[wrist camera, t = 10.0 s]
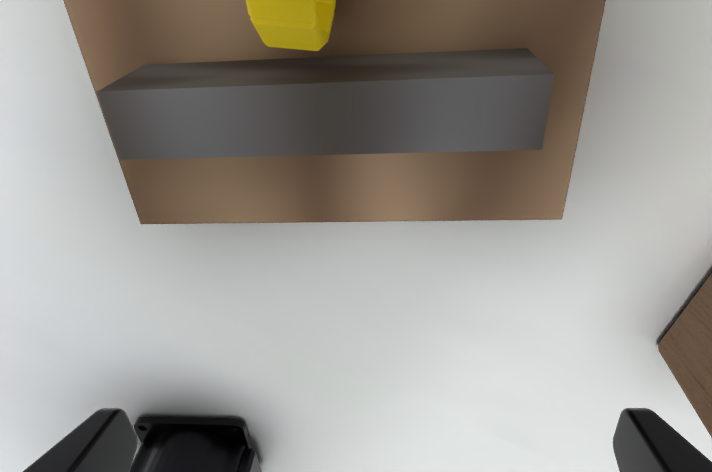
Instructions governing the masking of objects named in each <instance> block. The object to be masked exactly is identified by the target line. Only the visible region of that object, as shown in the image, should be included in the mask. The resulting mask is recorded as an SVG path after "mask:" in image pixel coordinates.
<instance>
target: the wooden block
mask: <svg viewBox="0 0 712 472" xmlns="http://www.w3.org/2000/svg"><path fill="white" fill-rule="evenodd" d="M658 347H659V352H660V354H661V355H662V357H663V358H664V360H665V362H666V363H667V365H668V367H669V368H670V370H671V372H672V373H673V375H674V376H675V378H676V380H677V381H678V383H679V385H680V386H681V388H682V390H683V391H684V393H685V395H686V396H687V398H688V399H689V401H690V403H691V404H692V406H693V408H694V409H695V411H696V413H697V414H698V416H699V417H700V419H701V421H702V422H703V424H704V426H705V427H706V429H707V431H708V432H709V434H710V436H711V437H712V273H711V274H710V276H709V277H708V278H707V280H706V281H705V282H704V284H703V285H702V286H701V288H700V289H699V290H698V292H697V293H696V294H695V296H694V297H693V298H692V300H691V301H690V302H689V304H688V305H687V306H686V308H685V309H684V310H683V312H682V313H681V314H680V316H679V317H678V318H677V320H676V321H675V322H674V324H673V325H672V326H671V328H670V329H669V330H668V332H667V333H666V334H665V336H664V337H663V338H662V340H661V341H660V342H659V346H658Z"/></svg>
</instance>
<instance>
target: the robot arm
mask: <svg viewBox="0 0 712 472" xmlns="http://www.w3.org/2000/svg"><path fill="white" fill-rule="evenodd" d="M134 429H135V431H136V433H137V435H138V437H139V439H140V441H141V443H142V444H141V446H140V448H139V450H138V452H137V454H136V456H135V458H134V455H135V451H136V448H137V435H136V433H135V431H134ZM134 429H133V427H132V425H131V423H130V421H129V419H128V417H127V415H126V413H125V411H124V410H122V409H120V408H104V409H100V410H98V411H96V412H95V413H94V414H93V415H91V416H90V417H89V418H88V419H86V420H85V421H84V422H83V423H82V424H80V425H79V426H78V427H77V428H75V429H74V430H73V431H72V432H71V433H69V434H68V435H67V436H66V437H64V438H63V439H62V440H61V441H60V442H58V443H57V444H56V445H55V446H54V447H52V448H51V449H50V450H49V451H47V452H46V453H45V454H44V455H43V456H41V457H40V458H39V459H38V460H36V461H35V462H34V463H33V464H32V465H30V466H29V467H28V468H27V469H25V470H24V471H23V472H261V468H260V465H259V461H258V457H257V454H256V452H255V450H254V449H253V448H252V445H251V442H250V438H249V435H248V431H247V428H246V425H245V423H244V422H243V421H241V420H237V419H208V418H172V417H139V418H138V419H137V421H136V423H135V425H134ZM613 448H614V453H615V457H616V460H617V464H618V467H619V471H620V472H712V462H711V461H710V460H709V459H708V458H706V457H705V456H704V455H703V454H702V453H701V452H700V451H698V450H697V449H696V448H695V447H694V446H693V445H691V444H690V443H689V442H688V441H687V440H686V439H685V438H683V437H682V436H681V435H680V434H679V433H678V432H677V431H675V430H674V429H673V428H672V427H671V426H670V425H668V424H667V423H666V422H665V421H664V420H663V419H662V418H660V417H659V416H658V415H657V414H656V413H655V412H653V411H652V410H650V409H646V408H626V409H624V410H623V411H622V412H621V415H620V418H619V421H618V424H617V427H616V431H615V434H614V437H613ZM133 458H134V460H133Z"/></svg>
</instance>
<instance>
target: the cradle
mask: <svg viewBox="0 0 712 472" xmlns="http://www.w3.org/2000/svg"><path fill="white" fill-rule="evenodd" d="M63 1H64V4H65V6H66V9H67V12H68V15H69V18H70V21H71V24H72V27H73V30H74V32H75V35H76V38H77V41H78V44H79V47H80V50H81V53H82V55H83V58H84V61H85V64H86V67H87V70H88V73H89V76H90V79H91V81H92V84H93V87H94V90H95V93H96V96H97V99H98V102H99V105H100V107H101V110H102V113H103V116H104V119H105V122H106V125H107V128H108V131H109V133H110V136H111V139H112V142H113V145H114V148H115V151H116V154H117V157H118V159H119V162H120V165H121V168H122V171H123V174H124V177H125V180H126V182H127V185H128V188H129V191H130V194H131V197H132V200H133V203H134V206H135V208H136V211H137V214H138V217H139V220H140V223H141V224H196V223H285V222H374V221H463V220H552V219H562V217H563V212H564V207H565V202H566V196H567V191H568V186H569V181H570V176H571V171H572V166H573V161H574V156H575V151H576V146H577V141H578V136H579V131H580V126H581V121H582V116H583V111H584V106H585V101H586V96H587V91H588V86H589V81H590V76H591V71H592V66H593V61H594V56H595V51H596V46H597V41H598V36H599V31H600V26H601V21H602V16H603V11H604V6H605V1H606V0H336V5H335V10H334V18H333V22H332V27H331V32H330V36H329V40H328V42H327V43H326V44H325V45H324V46H323V47H322V48H321V49H320V50H319V51H311V50H299V49H288V48H277V47H268V46H266V45H265V43H264V42H263V41H262V39H261V37H260V36H259V34H258V32H257V30H256V29H255V27H254V25H253V23H252V22H251V20H250V15H249V14H248V10H247V5H246V0H63Z"/></svg>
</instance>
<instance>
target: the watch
mask: <svg viewBox="0 0 712 472" xmlns="http://www.w3.org/2000/svg"><path fill="white" fill-rule="evenodd" d="M246 5H247V10H248V14H249V15H250V20H251V22H252V23H253V25H254V27H255V29H256V30H257V32H258V34H259V36H260V37H261V39H262V41H263V42H264V43H265V45H266V46H268V47H277V48H288V49H299V50H311V51H319V50H320V49H321V48H322V47H323V46H324V45H325V44H326V43H327V42H328V40H329V36H330V32H331V27H332V22H333V18H334V10H335V5H336V0H246Z"/></svg>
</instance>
